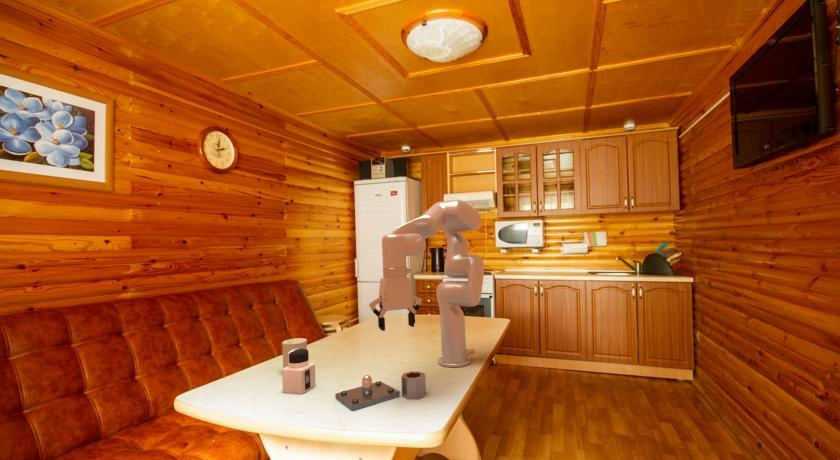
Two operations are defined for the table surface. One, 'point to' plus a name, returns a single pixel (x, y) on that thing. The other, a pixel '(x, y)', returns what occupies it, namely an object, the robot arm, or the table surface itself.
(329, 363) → the table surface
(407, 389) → the hub ring
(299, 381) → the container
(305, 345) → the can
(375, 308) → the robot arm
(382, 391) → the shaft block
